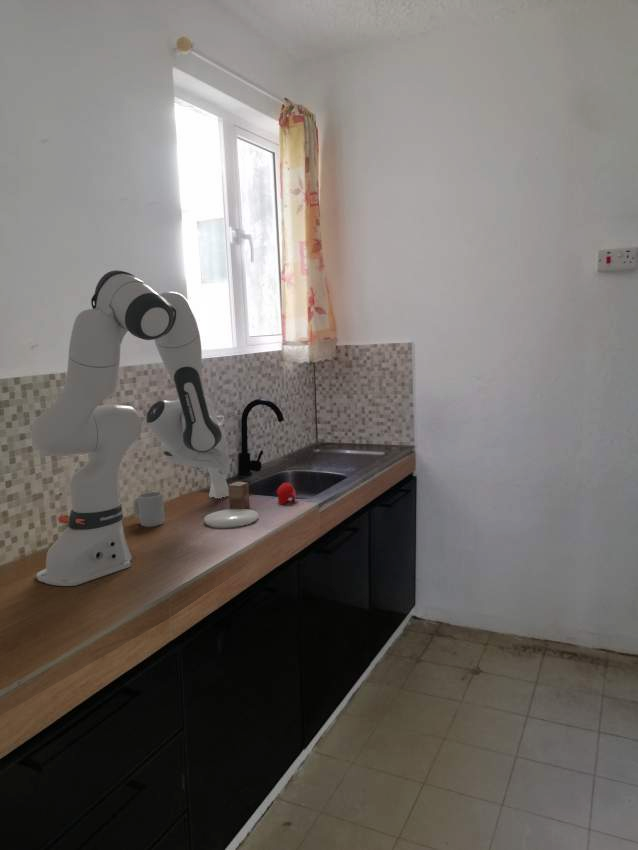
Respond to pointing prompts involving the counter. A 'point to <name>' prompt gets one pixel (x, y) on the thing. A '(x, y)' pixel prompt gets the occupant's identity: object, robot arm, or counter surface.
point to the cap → (285, 493)
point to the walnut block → (238, 495)
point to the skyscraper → (217, 479)
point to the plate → (231, 518)
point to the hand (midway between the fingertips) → (212, 471)
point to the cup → (150, 509)
